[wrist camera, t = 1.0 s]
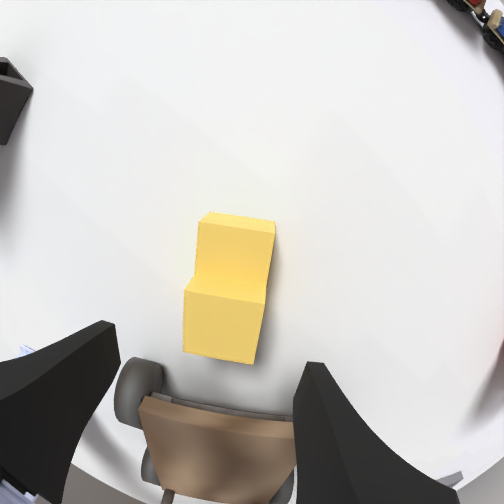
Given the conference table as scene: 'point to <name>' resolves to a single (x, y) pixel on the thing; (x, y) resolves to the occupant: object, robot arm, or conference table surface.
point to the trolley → (205, 443)
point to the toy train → (485, 21)
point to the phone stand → (11, 97)
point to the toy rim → (451, 479)
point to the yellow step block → (228, 287)
